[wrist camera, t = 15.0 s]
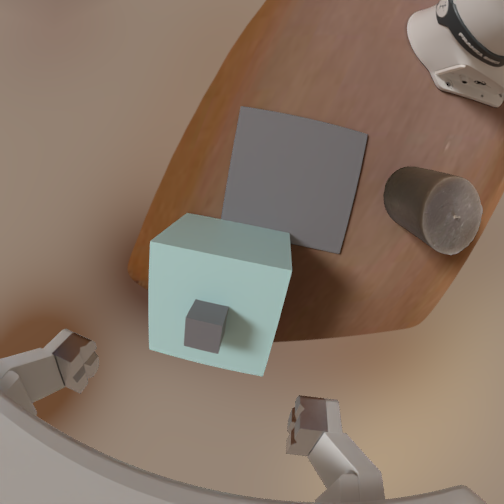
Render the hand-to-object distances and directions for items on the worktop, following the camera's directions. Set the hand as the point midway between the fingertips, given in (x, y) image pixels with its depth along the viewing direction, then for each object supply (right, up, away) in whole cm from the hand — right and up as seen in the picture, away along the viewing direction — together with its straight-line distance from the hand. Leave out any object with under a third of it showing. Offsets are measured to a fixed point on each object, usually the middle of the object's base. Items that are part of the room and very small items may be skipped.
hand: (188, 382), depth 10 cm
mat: (+8, +15, +32) cm, 37 cm away
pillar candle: (+27, +13, +31) cm, 44 cm away
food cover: (-1, +2, +37) cm, 37 cm away
